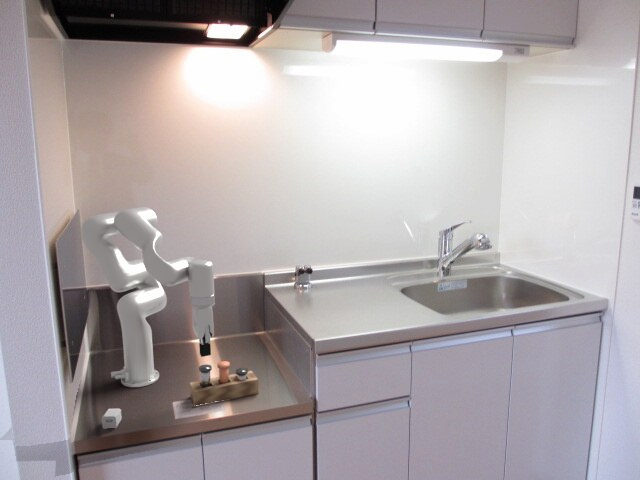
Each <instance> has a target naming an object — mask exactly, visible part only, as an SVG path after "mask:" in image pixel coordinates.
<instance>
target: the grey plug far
mask: <svg viewBox="0 0 640 480" xmlns="http://www.w3.org/2000/svg"><path fill="white" fill-rule="evenodd" d="M248 371H249V369H248V368H246V367H239V368H238V367H237V368H236V369H235V374H237V380H238V381H240V380H245V379H247V378H246V374H247V373H248Z"/></svg>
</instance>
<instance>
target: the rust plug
mask: <svg viewBox="0 0 640 480" xmlns="http://www.w3.org/2000/svg"><path fill="white" fill-rule="evenodd" d="M230 363H231V362H230V361H226V360H225V361H224V360H223V361H218V362H217V368H218V375H219V376H218V377H219V380H220V384H225V383H229V375H230V374H229V373H230V372H229V368H230V366H231V364H230Z"/></svg>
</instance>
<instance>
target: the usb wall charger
mask: <svg viewBox="0 0 640 480" xmlns="http://www.w3.org/2000/svg"><path fill="white" fill-rule="evenodd" d="M122 418H123V417H122V409H121V408H120V407H119V408H108V409H107V410H106V412H105V413H104V414H103V416H102V417H101V423H102V428H103V430H106V429H107V428H115V429H117V428H118V426H119V424H120V423H121V421H122ZM107 430H108V429H107Z"/></svg>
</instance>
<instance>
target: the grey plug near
mask: <svg viewBox="0 0 640 480" xmlns="http://www.w3.org/2000/svg"><path fill="white" fill-rule="evenodd" d="M212 370H213V369H212V365H210V364H202V365H200V366H199V367H198V372H200V380H201V388H205V387H210V386H211V380H210V379H211V371H212Z"/></svg>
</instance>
